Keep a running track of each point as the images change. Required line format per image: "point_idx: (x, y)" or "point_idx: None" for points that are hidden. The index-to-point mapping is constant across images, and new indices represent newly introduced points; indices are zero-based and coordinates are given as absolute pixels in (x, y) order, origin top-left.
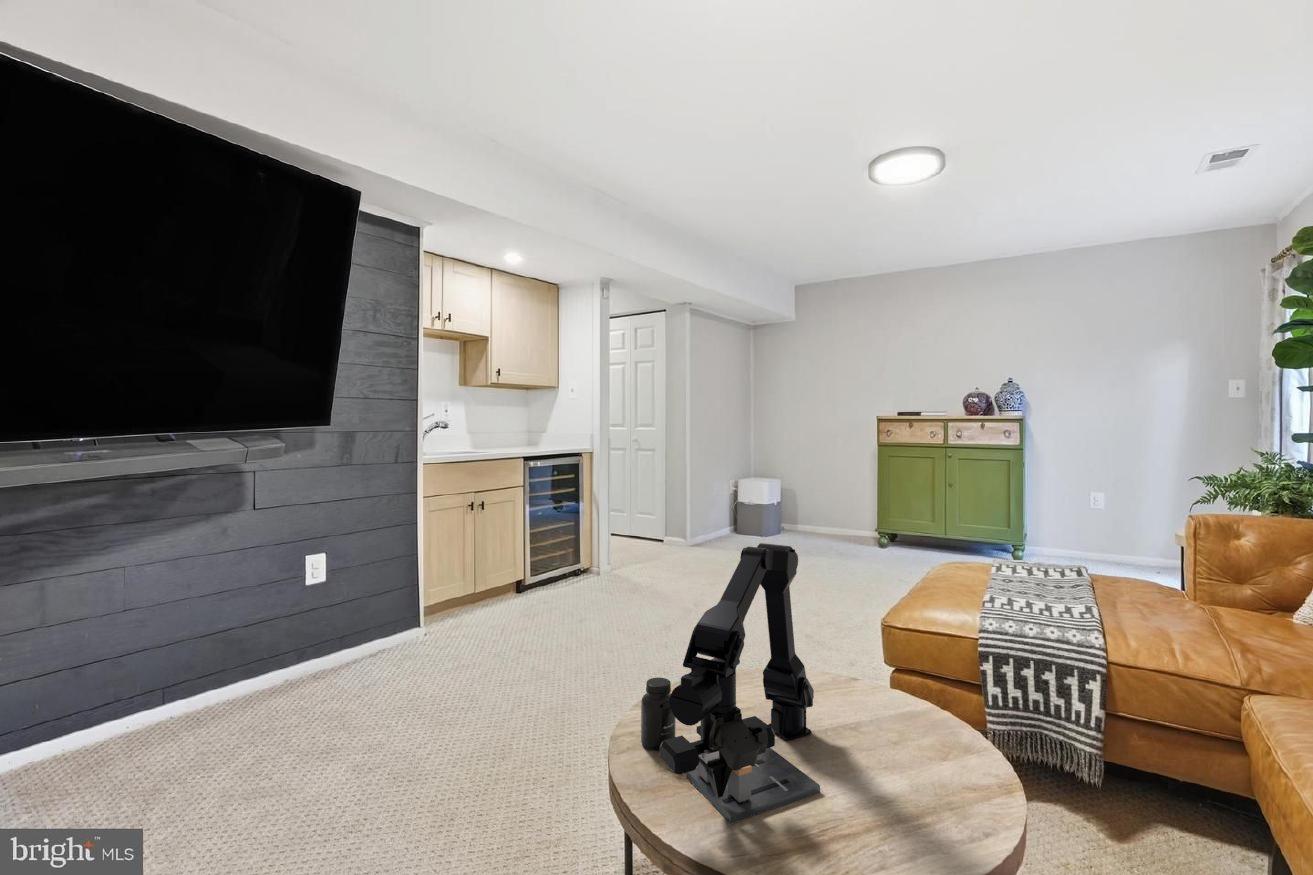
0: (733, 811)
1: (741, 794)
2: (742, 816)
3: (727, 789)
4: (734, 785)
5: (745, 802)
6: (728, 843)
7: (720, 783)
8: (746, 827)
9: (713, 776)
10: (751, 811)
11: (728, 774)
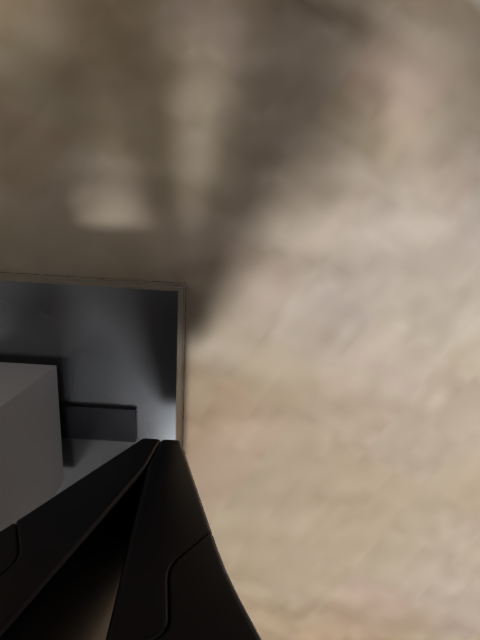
0: (136, 319)
1: (6, 383)
2: (96, 282)
3: None
4: (8, 465)
5: (13, 354)
6: (306, 143)
7: (148, 501)
8: (122, 208)
9: (230, 597)
10: (21, 277)
11: (9, 548)
